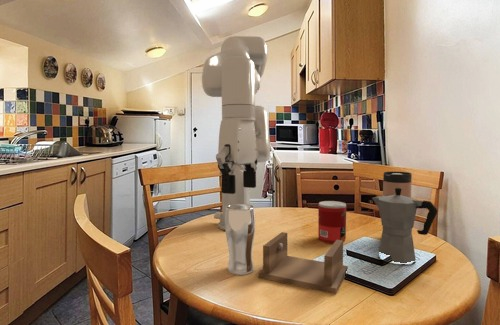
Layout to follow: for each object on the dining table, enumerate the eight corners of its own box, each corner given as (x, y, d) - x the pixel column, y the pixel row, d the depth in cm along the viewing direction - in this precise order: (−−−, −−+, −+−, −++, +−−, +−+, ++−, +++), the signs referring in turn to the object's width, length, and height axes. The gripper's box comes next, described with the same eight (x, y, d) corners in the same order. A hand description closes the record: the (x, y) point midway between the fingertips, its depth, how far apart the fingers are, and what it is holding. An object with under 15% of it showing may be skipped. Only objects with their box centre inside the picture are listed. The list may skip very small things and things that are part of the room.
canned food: (347, 244, 91) (347, 206, 90) (318, 243, 93) (318, 205, 92) (344, 236, 98) (345, 201, 98) (318, 235, 100) (318, 200, 99)
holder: (258, 277, 70) (257, 245, 70) (278, 258, 81) (278, 231, 80) (336, 294, 62) (336, 258, 62) (347, 271, 73) (348, 240, 72)
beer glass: (245, 278, 70) (244, 211, 69) (219, 271, 73) (218, 207, 72) (261, 267, 76) (260, 205, 74) (236, 261, 79) (236, 202, 78)
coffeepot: (362, 256, 82) (363, 187, 81) (379, 247, 88) (380, 183, 87) (427, 274, 71) (430, 194, 69) (441, 262, 77) (444, 189, 76)
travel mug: (409, 237, 97) (411, 171, 95) (410, 245, 90) (412, 174, 88) (382, 234, 100) (383, 171, 98) (381, 241, 93) (382, 173, 91)
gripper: (242, 117, 81) (243, 184, 82) (202, 112, 66) (203, 195, 67) (269, 116, 77) (270, 186, 78) (233, 110, 62) (234, 197, 63)
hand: (239, 190), depth 73 cm, fingers open, 9 cm apart
